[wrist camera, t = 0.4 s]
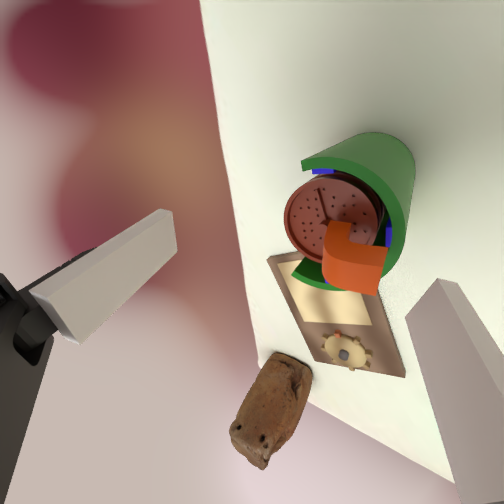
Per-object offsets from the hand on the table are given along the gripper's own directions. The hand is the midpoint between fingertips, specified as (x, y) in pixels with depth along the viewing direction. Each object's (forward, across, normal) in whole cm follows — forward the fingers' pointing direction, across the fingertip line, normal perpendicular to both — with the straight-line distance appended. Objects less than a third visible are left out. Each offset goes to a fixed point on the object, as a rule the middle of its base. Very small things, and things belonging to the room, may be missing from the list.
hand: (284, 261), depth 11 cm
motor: (+20, +6, 0) cm, 22 cm away
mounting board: (+20, +9, -23) cm, 32 cm away
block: (+21, +7, -46) cm, 51 cm away
